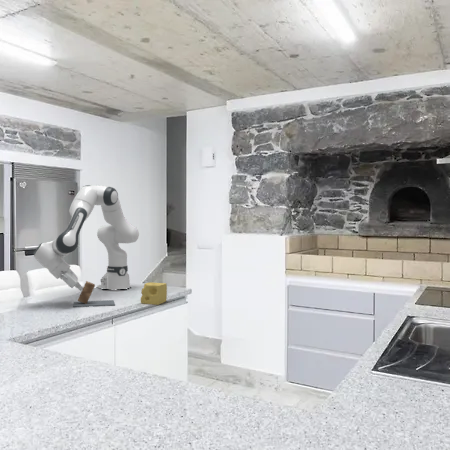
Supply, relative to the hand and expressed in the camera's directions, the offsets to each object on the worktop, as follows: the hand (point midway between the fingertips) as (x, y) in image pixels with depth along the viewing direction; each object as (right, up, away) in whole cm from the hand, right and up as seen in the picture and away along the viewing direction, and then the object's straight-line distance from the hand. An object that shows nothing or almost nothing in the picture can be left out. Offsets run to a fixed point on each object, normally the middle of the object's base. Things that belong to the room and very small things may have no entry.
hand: (82, 289), depth 231 cm
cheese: (+35, -8, +9) cm, 37 cm away
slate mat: (+5, -8, +2) cm, 10 cm away
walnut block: (0, -6, 0) cm, 6 cm away
